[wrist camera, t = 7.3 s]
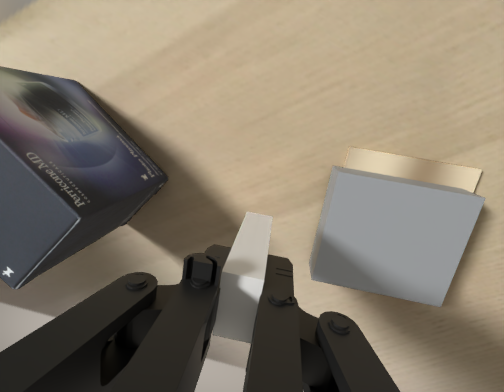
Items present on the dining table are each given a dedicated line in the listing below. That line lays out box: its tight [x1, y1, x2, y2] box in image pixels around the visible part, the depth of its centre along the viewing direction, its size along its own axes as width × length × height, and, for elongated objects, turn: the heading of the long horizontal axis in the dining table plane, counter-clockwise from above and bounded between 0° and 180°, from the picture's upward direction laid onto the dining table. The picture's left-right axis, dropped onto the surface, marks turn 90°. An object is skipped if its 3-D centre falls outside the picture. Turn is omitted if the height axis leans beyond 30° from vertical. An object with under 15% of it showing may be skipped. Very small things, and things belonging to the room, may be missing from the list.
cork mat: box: [344, 146, 482, 193], centre depth 22 cm, size 9×11×1 cm
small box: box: [0, 66, 168, 289], centre depth 18 cm, size 11×6×10 cm, turn 43°
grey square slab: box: [309, 166, 486, 307], centre depth 20 cm, size 3×8×9 cm
